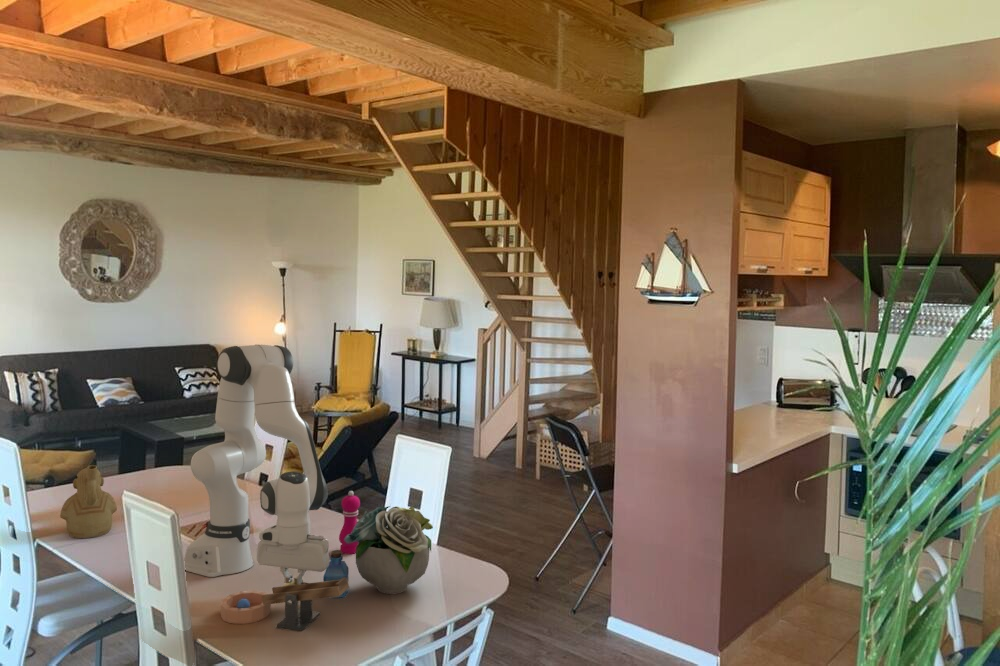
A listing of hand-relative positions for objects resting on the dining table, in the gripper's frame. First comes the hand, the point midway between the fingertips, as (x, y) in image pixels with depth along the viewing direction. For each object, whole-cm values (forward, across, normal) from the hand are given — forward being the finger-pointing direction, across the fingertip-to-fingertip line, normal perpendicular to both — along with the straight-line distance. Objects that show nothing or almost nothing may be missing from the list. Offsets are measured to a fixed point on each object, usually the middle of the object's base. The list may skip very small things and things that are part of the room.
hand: (293, 583), depth 202 cm
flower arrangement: (+7, -21, -19) cm, 29 cm away
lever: (-1, -8, +4) cm, 9 cm away
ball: (+4, +10, +8) cm, 14 cm away
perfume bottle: (+7, -7, -11) cm, 15 cm away
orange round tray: (+6, +9, +8) cm, 14 cm away
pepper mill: (+6, +4, -43) cm, 44 cm away
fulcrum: (+6, -6, +8) cm, 12 cm away
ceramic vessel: (+5, +95, -30) cm, 100 cm away
